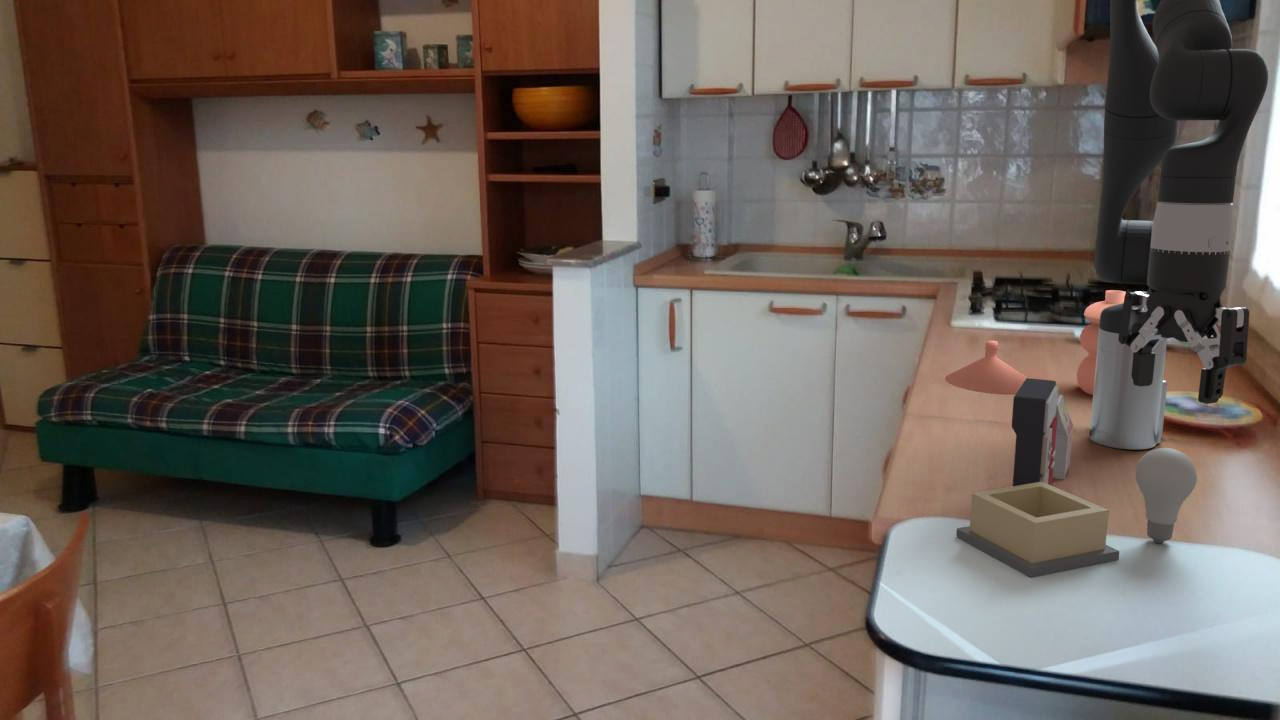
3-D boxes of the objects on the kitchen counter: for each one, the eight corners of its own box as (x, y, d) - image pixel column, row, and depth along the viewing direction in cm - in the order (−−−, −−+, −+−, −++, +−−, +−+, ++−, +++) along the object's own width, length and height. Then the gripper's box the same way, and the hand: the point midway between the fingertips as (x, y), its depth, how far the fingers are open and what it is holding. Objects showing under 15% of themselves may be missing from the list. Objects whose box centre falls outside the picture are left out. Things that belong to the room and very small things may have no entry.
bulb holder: (1038, 521, 122) (1042, 477, 121) (1118, 559, 111) (1123, 511, 110) (956, 536, 117) (959, 491, 116) (1030, 577, 107) (1034, 527, 105)
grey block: (1035, 475, 138) (1040, 404, 136) (1041, 461, 144) (1047, 393, 142) (1064, 479, 137) (1070, 407, 134) (1069, 465, 142) (1075, 395, 140)
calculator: (1042, 522, 122) (1052, 400, 118) (1004, 516, 124) (1013, 396, 120) (1053, 494, 131) (1062, 380, 128) (1018, 489, 133) (1026, 377, 130)
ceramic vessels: (926, 401, 177) (932, 294, 173) (929, 374, 197) (934, 277, 193) (1147, 415, 167) (1159, 302, 163) (1127, 385, 187) (1137, 284, 183)
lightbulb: (1196, 554, 112) (1207, 458, 110) (1136, 550, 113) (1146, 455, 111) (1179, 533, 118) (1189, 442, 115) (1122, 530, 119) (1131, 439, 117)
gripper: (1277, 250, 103) (1258, 405, 107) (1160, 238, 116) (1146, 377, 120) (1223, 253, 101) (1205, 412, 104) (1110, 241, 114) (1097, 382, 117)
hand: (1173, 393), depth 112 cm, fingers open, 8 cm apart
